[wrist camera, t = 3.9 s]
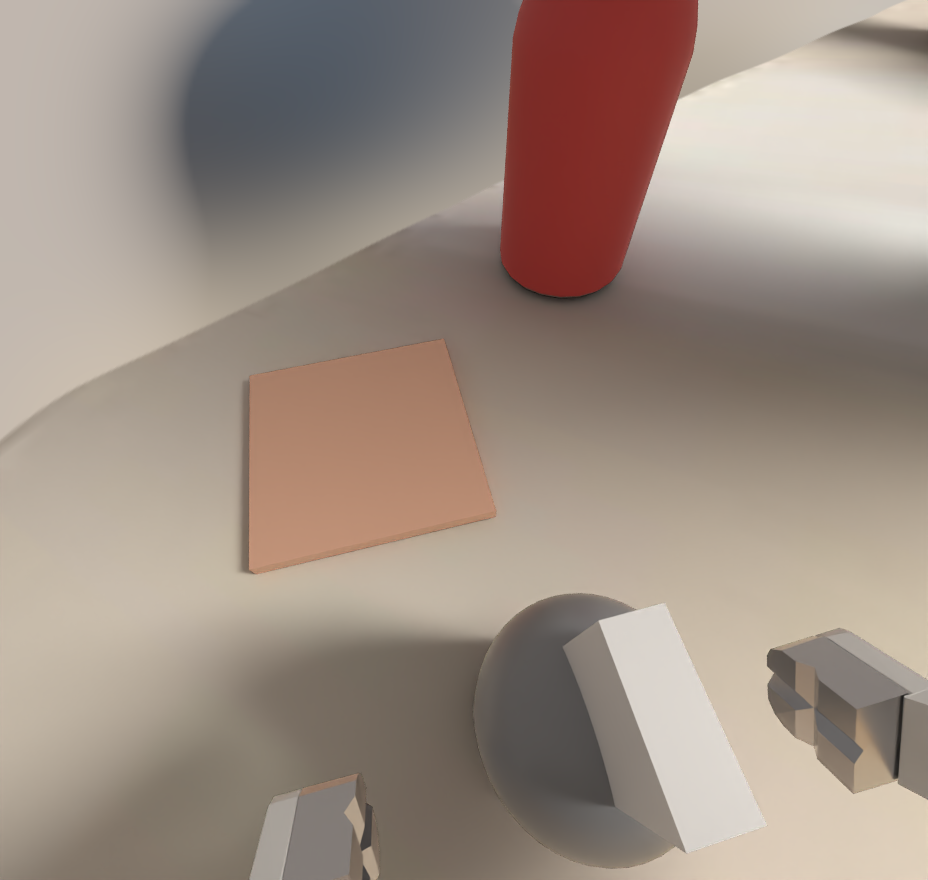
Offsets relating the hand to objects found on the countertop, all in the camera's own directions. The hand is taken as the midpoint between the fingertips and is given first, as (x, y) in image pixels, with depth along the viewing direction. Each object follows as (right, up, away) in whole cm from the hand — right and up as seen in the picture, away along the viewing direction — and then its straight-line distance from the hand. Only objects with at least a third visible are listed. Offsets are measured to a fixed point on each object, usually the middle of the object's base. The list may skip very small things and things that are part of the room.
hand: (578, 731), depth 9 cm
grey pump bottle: (0, -3, +5) cm, 6 cm away
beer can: (+3, +15, +17) cm, 23 cm away
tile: (-6, +5, +11) cm, 13 cm away
